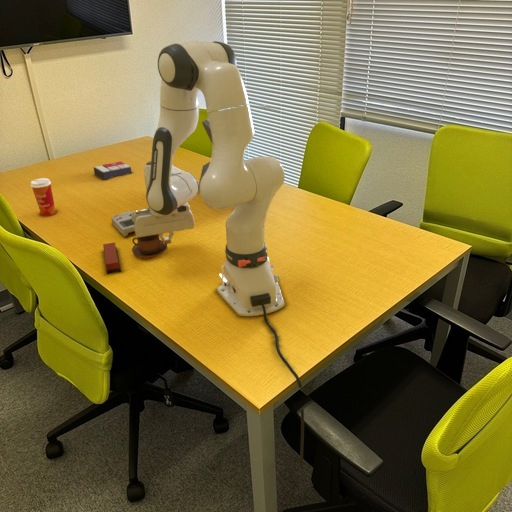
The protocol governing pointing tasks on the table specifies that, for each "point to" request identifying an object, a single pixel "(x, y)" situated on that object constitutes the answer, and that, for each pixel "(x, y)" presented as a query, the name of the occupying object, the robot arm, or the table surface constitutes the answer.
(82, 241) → the table surface
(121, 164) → the flat rectangular box
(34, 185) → the paper cup
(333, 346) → the table surface
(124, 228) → the handheld gaming device
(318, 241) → the table surface
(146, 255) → the cup and saucer
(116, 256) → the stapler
